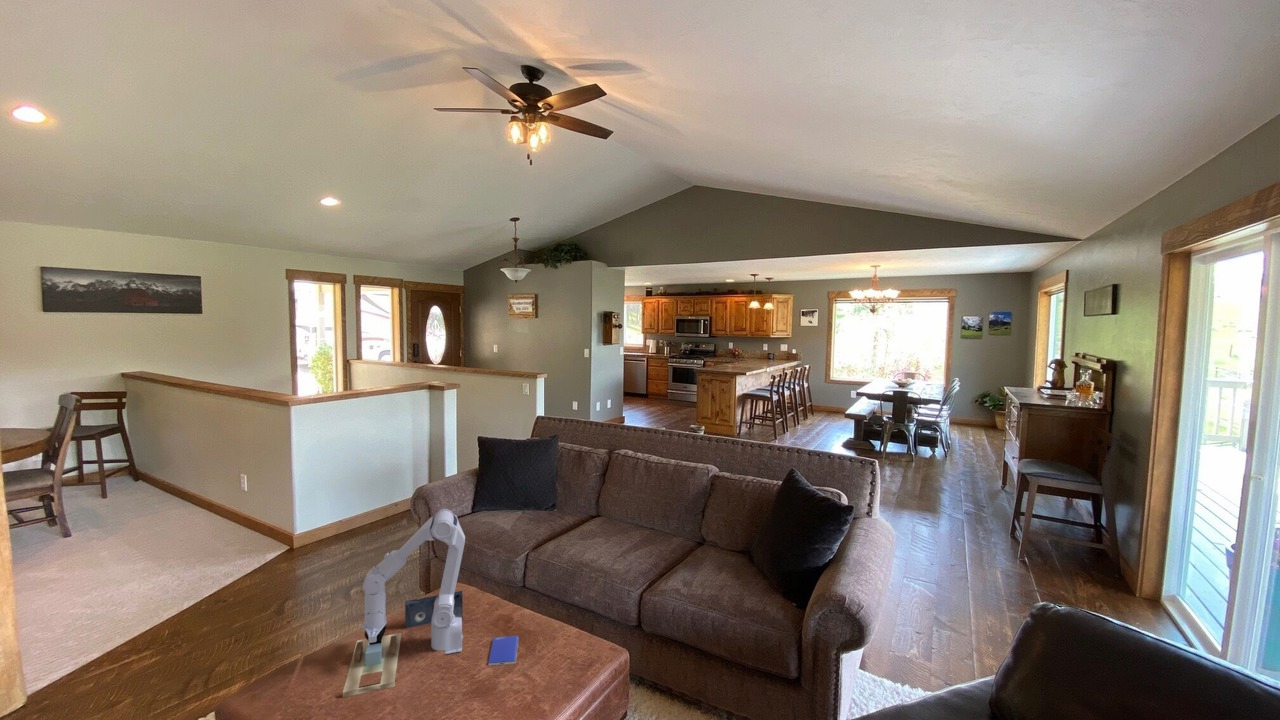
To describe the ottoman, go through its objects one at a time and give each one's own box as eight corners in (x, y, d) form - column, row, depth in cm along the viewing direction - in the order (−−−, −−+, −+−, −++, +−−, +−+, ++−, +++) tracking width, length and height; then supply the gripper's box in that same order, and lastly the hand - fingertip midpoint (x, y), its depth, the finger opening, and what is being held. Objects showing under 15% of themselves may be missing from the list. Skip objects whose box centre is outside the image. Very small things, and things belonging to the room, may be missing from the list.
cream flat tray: (401, 637, 168) (401, 624, 168) (394, 686, 146) (394, 671, 145) (357, 644, 164) (356, 631, 163) (342, 697, 141) (342, 682, 141)
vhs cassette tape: (462, 617, 180) (462, 590, 180) (462, 621, 178) (462, 594, 177) (405, 628, 173) (404, 600, 172) (405, 633, 170) (404, 604, 170)
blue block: (382, 655, 157) (382, 642, 156) (380, 663, 153) (380, 651, 153) (367, 657, 155) (367, 645, 155) (365, 666, 152) (365, 653, 151)
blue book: (493, 637, 168) (488, 662, 156) (518, 635, 169) (515, 660, 157) (493, 641, 168) (488, 667, 156) (518, 639, 169) (515, 665, 157)
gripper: (364, 598, 162) (364, 639, 163) (356, 624, 148) (357, 668, 149) (389, 594, 164) (389, 635, 165) (383, 620, 151) (384, 663, 152)
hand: (375, 650), depth 157 cm, fingers closed
